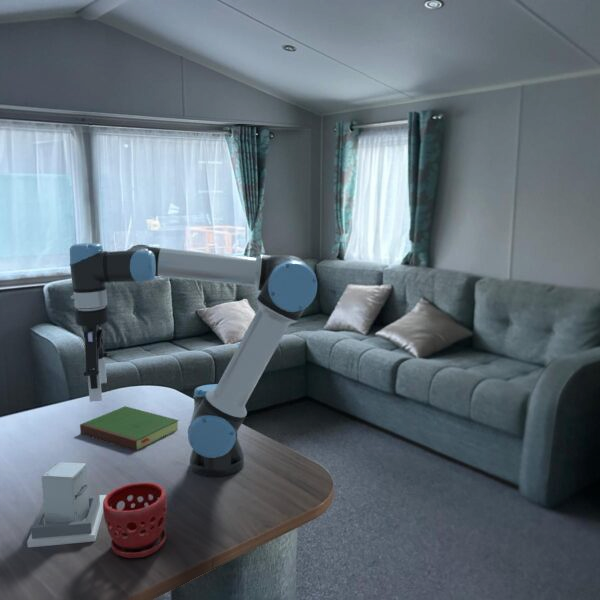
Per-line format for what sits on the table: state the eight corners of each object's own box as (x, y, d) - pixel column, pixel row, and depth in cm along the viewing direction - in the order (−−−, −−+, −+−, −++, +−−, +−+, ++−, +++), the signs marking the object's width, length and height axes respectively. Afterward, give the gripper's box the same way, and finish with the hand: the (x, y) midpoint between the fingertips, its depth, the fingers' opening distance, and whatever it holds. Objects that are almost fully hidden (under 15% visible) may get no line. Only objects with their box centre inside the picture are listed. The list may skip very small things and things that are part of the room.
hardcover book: (80, 435, 190) (80, 424, 189) (125, 416, 206) (125, 406, 205) (137, 453, 177) (137, 441, 177) (180, 431, 193) (180, 420, 192)
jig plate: (106, 500, 149) (105, 485, 149) (95, 541, 132) (93, 524, 131) (47, 505, 147) (46, 490, 146) (27, 547, 130) (26, 530, 129)
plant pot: (159, 523, 139) (156, 475, 137) (175, 553, 128) (173, 501, 126) (100, 538, 133) (97, 488, 131) (112, 571, 122) (109, 517, 119)
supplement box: (75, 530, 134) (71, 477, 131) (44, 528, 134) (40, 475, 132) (90, 512, 141) (87, 462, 138) (61, 510, 142) (57, 460, 139)
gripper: (81, 299, 156) (88, 377, 160) (67, 319, 132) (76, 410, 136) (111, 297, 157) (117, 375, 161) (102, 316, 133) (110, 407, 137)
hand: (98, 391), depth 148 cm, fingers open, 13 cm apart
